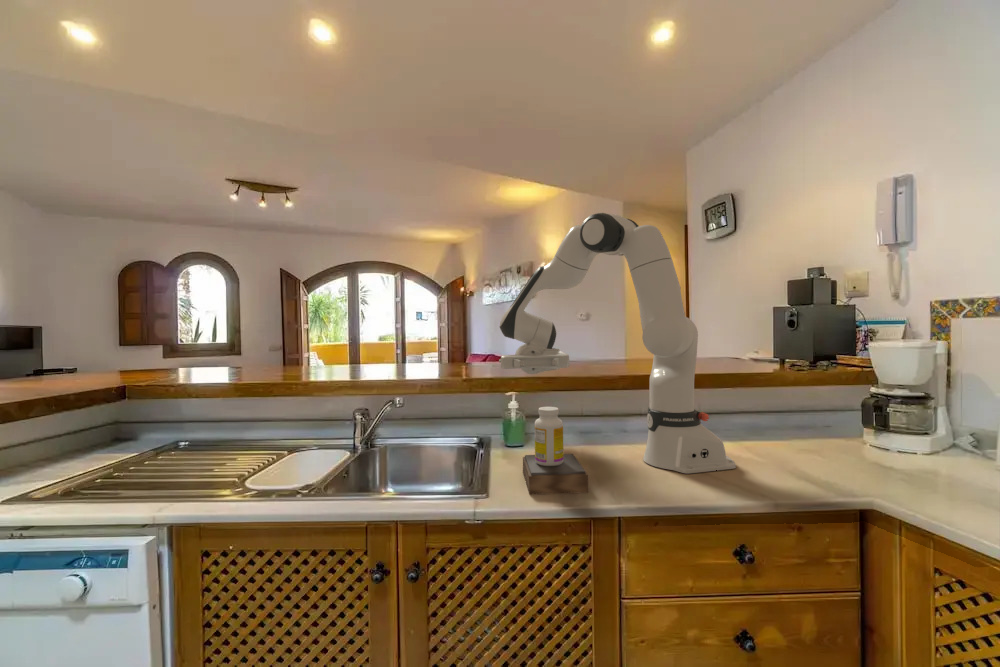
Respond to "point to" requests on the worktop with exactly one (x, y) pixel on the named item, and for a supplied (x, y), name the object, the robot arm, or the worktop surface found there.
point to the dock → (555, 476)
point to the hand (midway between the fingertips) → (537, 363)
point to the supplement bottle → (548, 437)
